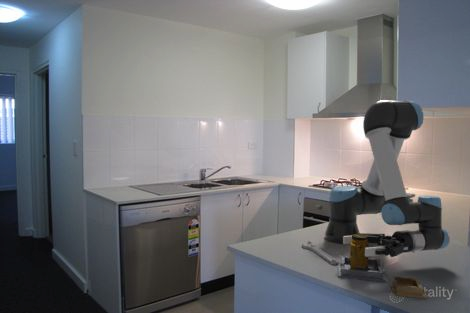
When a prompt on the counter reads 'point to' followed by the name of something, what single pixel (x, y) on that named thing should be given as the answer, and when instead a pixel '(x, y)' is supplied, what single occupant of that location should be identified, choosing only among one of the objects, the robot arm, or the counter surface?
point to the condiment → (359, 253)
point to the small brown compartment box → (408, 287)
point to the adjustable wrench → (319, 251)
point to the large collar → (361, 274)
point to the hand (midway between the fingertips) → (353, 245)
